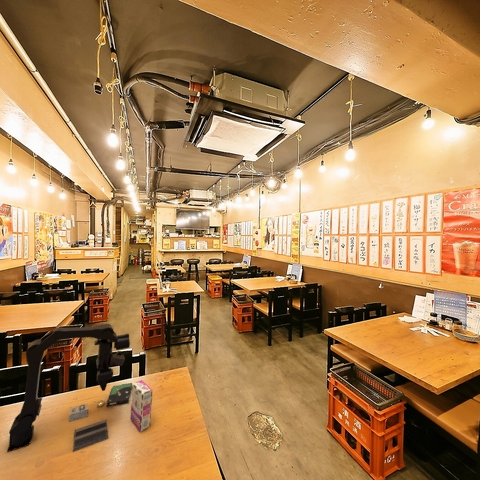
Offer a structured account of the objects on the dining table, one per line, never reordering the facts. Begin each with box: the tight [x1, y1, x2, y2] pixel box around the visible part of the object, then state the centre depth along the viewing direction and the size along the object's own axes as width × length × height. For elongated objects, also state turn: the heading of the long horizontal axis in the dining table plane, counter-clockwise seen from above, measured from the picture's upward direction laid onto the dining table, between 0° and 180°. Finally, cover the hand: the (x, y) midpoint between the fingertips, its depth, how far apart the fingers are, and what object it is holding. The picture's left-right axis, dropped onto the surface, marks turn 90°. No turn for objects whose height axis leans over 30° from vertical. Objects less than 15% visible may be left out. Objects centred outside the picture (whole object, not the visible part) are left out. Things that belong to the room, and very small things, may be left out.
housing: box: [68, 402, 89, 423], centre depth 107 cm, size 7×5×4 cm
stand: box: [72, 419, 109, 453], centre depth 97 cm, size 12×11×2 cm
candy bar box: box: [130, 379, 153, 433], centre depth 105 cm, size 11×5×16 cm, turn 47°
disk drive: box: [106, 382, 133, 408], centre depth 122 cm, size 10×3×15 cm
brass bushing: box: [96, 400, 106, 408], centre depth 115 cm, size 3×3×2 cm
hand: (103, 385), depth 108 cm, fingers open, 9 cm apart
